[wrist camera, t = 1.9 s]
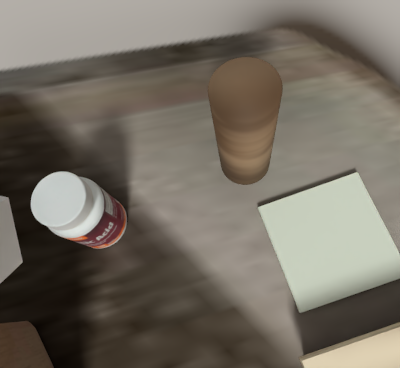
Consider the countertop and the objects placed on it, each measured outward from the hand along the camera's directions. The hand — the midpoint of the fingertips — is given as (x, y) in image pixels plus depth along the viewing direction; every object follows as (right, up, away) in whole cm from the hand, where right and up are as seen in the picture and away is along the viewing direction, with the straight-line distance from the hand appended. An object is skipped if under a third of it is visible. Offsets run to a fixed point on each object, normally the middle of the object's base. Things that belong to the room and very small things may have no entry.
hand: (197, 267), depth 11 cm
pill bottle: (-9, -1, +21) cm, 23 cm away
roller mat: (+11, -2, +18) cm, 21 cm away
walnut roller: (+4, +5, +21) cm, 22 cm away
